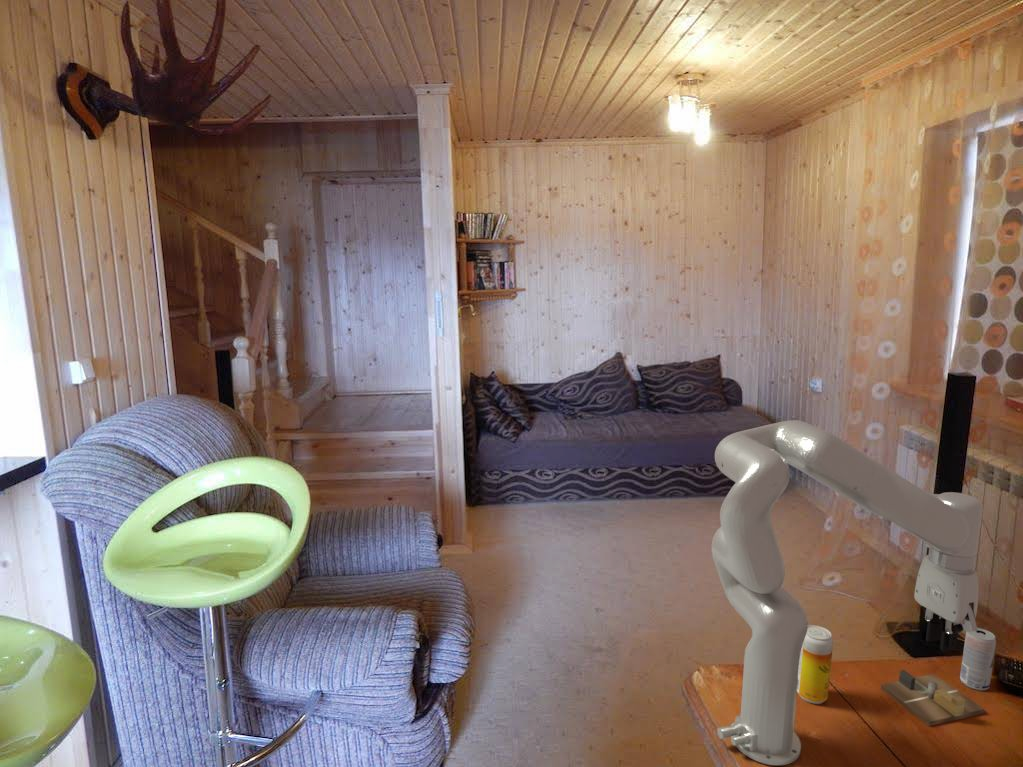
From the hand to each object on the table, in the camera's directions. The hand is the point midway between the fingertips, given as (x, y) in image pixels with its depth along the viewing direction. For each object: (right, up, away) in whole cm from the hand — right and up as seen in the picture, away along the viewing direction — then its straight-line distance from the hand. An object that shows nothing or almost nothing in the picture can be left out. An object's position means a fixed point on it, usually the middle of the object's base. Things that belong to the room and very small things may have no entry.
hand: (940, 644), depth 129 cm
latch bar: (+5, -15, +5) cm, 17 cm away
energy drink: (+17, -15, +15) cm, 27 cm away
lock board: (+4, -16, +9) cm, 19 cm away
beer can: (-20, -16, +11) cm, 28 cm away
